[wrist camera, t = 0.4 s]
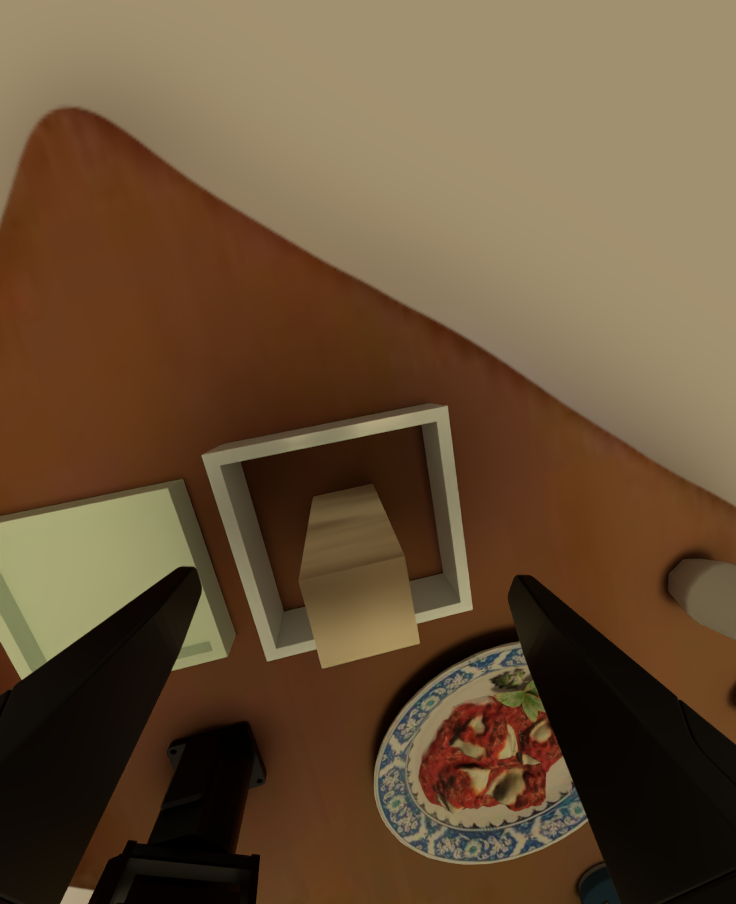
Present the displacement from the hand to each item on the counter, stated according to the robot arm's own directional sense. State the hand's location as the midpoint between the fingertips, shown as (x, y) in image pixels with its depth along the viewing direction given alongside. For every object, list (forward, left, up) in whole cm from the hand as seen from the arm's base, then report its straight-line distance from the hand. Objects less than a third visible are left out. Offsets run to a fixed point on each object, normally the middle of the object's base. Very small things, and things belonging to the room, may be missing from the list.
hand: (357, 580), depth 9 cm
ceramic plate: (-30, -10, -14) cm, 35 cm away
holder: (-4, 0, -14) cm, 14 cm away
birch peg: (-4, 0, -14) cm, 14 cm away
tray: (-5, +17, -14) cm, 23 cm away
